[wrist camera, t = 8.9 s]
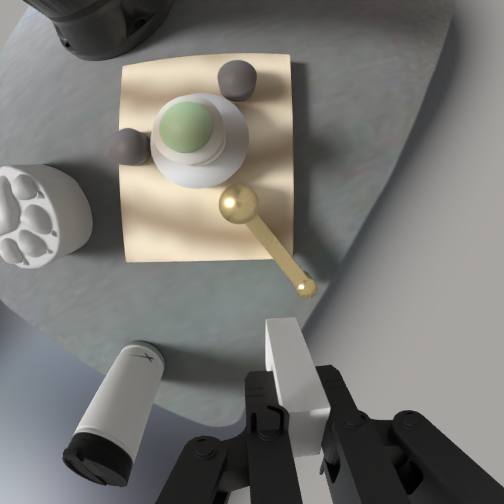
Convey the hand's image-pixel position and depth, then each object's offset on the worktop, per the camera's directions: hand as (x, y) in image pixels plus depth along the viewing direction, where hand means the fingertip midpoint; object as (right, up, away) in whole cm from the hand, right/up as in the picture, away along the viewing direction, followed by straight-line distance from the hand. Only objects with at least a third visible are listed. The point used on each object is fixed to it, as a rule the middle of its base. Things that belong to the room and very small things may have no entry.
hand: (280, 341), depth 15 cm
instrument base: (-6, +15, +15) cm, 22 cm away
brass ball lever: (0, +6, +15) cm, 16 cm away
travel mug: (-16, -10, +21) cm, 28 cm away
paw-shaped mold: (-26, +10, +16) cm, 32 cm away
